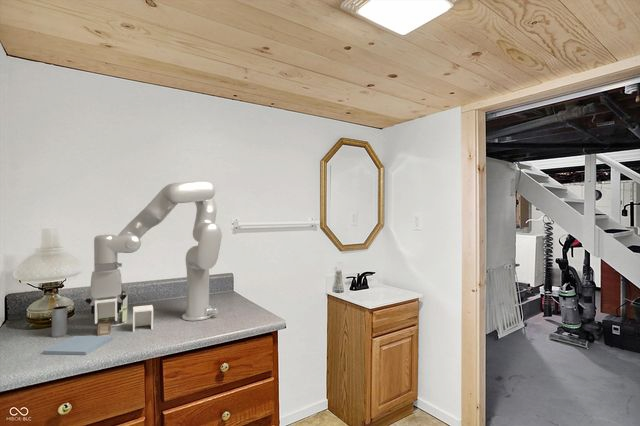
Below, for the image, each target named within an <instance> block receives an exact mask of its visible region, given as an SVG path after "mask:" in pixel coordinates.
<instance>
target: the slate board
mask: <svg viewBox="0 0 640 426" xmlns="http://www.w3.org/2000/svg"><path fill="white" fill-rule="evenodd" d="M113 337H114V336H109V335H100V336H98V335H97V336H96V335H73V336H71V337H69V338H67V339H65V340H63V341H60V342H59V343H56V344H54V345H52V346H51V347H48V348H46V349H44V350H42V355H69V356H86V355H88V354H90V353H91V352H93V351H95V350H97V349H98V348H100V347H102V346H104V345H105V344H107V343H109V342H111V341H112V340H113Z"/></svg>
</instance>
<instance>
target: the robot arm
mask: <svg viewBox="0 0 640 426" xmlns="http://www.w3.org/2000/svg"><path fill="white" fill-rule="evenodd" d="M215 194H216V187H215V186H214V184H213V183H212V182H210V181H208V180H201V181H199V180H198V181H187V182H186V181H185V182H173V183H169V184H166V185H165V186H164V187H162V189H161V190H159V192H158V193H157V194H156V195H155V196H154V198H152V200H151V201H150V202H149V203H148V204H147V205H146V206H145V207H144V208H143V209H142V210H141V211H140V212H139V213H138V214H137V215H136V216H135V217H134V218H132V220H131V221H130V222H129V223H127V225H126V226H125V227H124V228H123V229H122V230H121V231H120V232H119V233H118V234H117V235H115V234H99V235H96V236H94V239H93V253H94V254H93V256H94V257H93V260H94V261H93V262H94V263H93V268H94V269H93V271H92V272H91V276H90V284H89V285H90V287H89V288H88V289H87V290H86V291H85V292H84V293H82V294H81V295H80V298H81V299H82V300H84V301H85V302H86V303H87V304H88V305H90V313H91V315H93V316H92V317H94V316H95V301H96V300H97V298H107V297H116V298H117V300H118V301H117V313H119V310H121V302H122V301H123V300H124V299H125V298H126V296H127V295H128V296H129V295H130V293H131V290H130V288H128V287H126V286H124V285H123V284H122V273H121V270H120V269H119V268H120V267H121V268H122V266H123V265H122V264H123V263H122V262H118V254H119V253H120V254H121V253H122V254H132V253H135V252H137V251H138V250H139V249H140V247H141V244H142V241H141V238H142V237H143V236H144V235H145V234H146V233H147V232H148V231H149V230H151V229H153V228H154V227H156V226H158V225H159V224H161V223H162V222H163V221H164V220H165V219H166V218H167V216H169V214H170V213H171V212H172V211H173V209H175V207H176V206H177V205H178V204H188V203H194V204H195V206H196V213H195V220H194V223H193V224H194V225H193V230H192V238H193V240H194V241H196V242H198V243H197V245H195V246H191V247H190V248H189V249H187V252H186V254H185V267H186V293H185V294H186V296H185V297H186V299H185V300H186V302H185V303H186V307H185V310H186V311H185V312H184V313H183V314H182V315H181V316H182V319H183V320H184V321H193V322H194V321H203V320H204V321H205V320H207V319H210V318H212V317H213V315H217V314H219V309H218V308H216V307H214V308H212V306H211V304H210V270H211V269H212V268H213V267H215V265H216V264H217V261H218V259H219V254H220V250H221V249H220V248H221V244H222V237H223V236H222V235H223V234H222V229H221V227H220V226H219V225H218V224H217V223H216V217H217V205H216V201H215V199H214V196H215ZM122 290H123V291H125V293H124V294H123V295H122V296H121V297H120V295H121V292H122ZM89 294H90V295H89ZM88 295H89V296H90V298H89V297H88Z"/></svg>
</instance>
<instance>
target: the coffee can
mask: <svg viewBox="0 0 640 426" xmlns="http://www.w3.org/2000/svg"><path fill="white" fill-rule="evenodd" d="M124 293H125V291H123V290H122V292H121V295H120V297H121V296H122V295H123V294H124ZM128 296H129V294H128V295H127V296H126V298H125V299H124V300H123V301H122V302H121V310H119V313H118V317H117V321H115V317H108V318H100V319H98V323H99V322H106V321H111V327H113V328H114V327H119V326H122V325H125V324H126V323H128V298H129V297H128ZM117 301H118V300H117Z"/></svg>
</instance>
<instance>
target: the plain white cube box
mask: <svg viewBox="0 0 640 426" xmlns="http://www.w3.org/2000/svg"><path fill="white" fill-rule="evenodd" d="M142 326H143V327H144V326H150V330H154V307H153V304H148V305H137V306H133V307H132V332H133V333H135V331H136V330H135V328H137V327H142Z"/></svg>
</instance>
